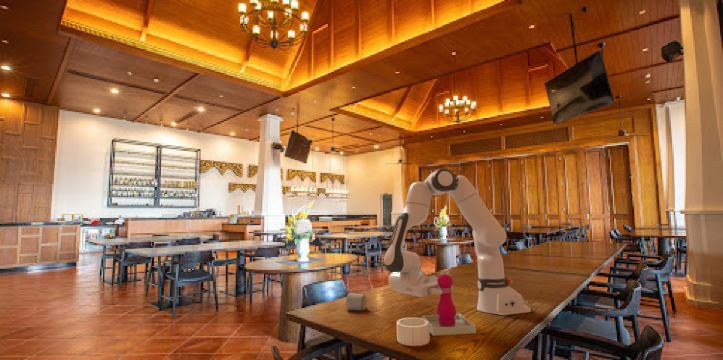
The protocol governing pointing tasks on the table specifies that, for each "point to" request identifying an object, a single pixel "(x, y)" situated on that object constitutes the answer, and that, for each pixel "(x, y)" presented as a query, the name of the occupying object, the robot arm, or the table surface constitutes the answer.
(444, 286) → the pepper mill
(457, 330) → the sage tray
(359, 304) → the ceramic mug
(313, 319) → the table surface
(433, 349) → the table surface
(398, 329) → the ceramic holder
